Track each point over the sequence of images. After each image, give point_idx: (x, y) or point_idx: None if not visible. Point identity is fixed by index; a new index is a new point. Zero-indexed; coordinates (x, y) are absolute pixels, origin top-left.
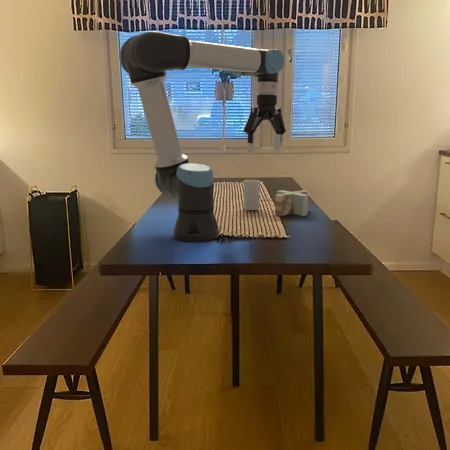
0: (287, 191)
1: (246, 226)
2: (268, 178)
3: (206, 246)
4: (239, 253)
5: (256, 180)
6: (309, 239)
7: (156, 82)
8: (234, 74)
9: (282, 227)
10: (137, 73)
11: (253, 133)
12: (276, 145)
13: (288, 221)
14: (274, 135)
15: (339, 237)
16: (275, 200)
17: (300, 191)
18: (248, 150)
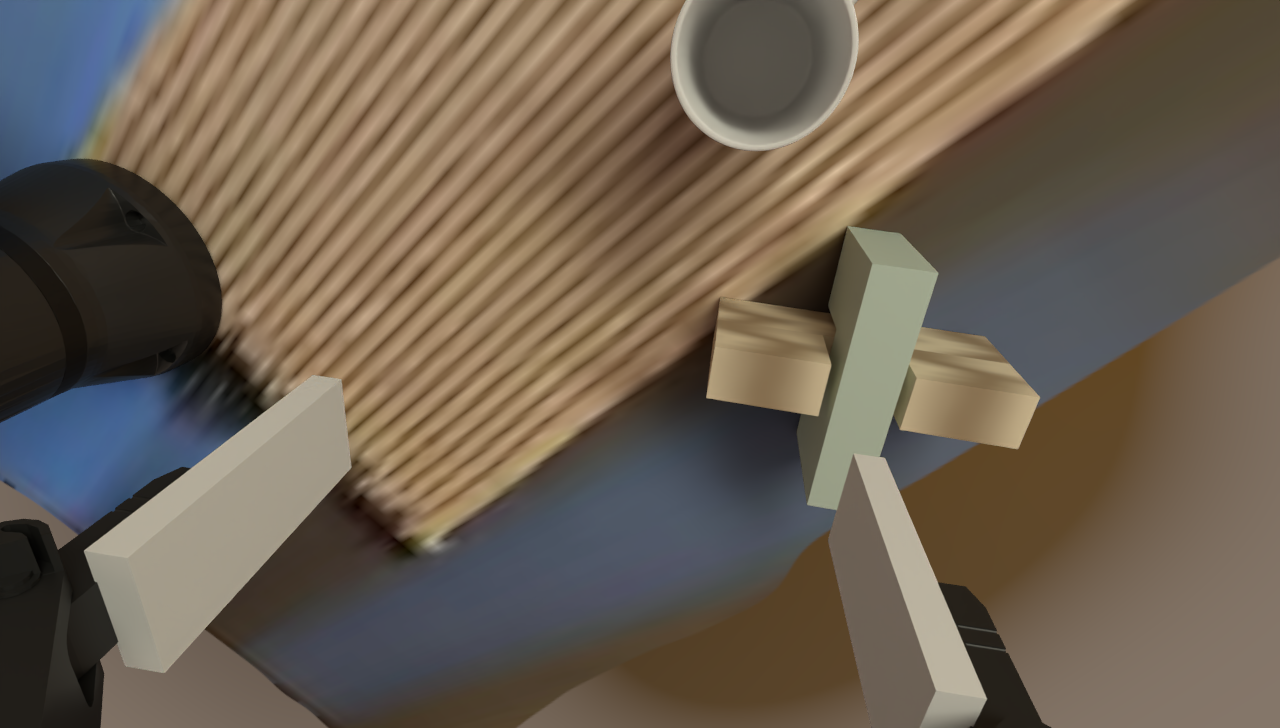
0: (904, 339)
1: (407, 334)
2: None
3: (105, 399)
4: None
5: (850, 50)
6: (468, 615)
7: None
8: None
9: (524, 468)
10: None
11: (94, 679)
12: (856, 563)
13: (638, 434)
14: (923, 667)
15: (569, 676)
16: (716, 332)
17: (966, 414)
18: (300, 386)
